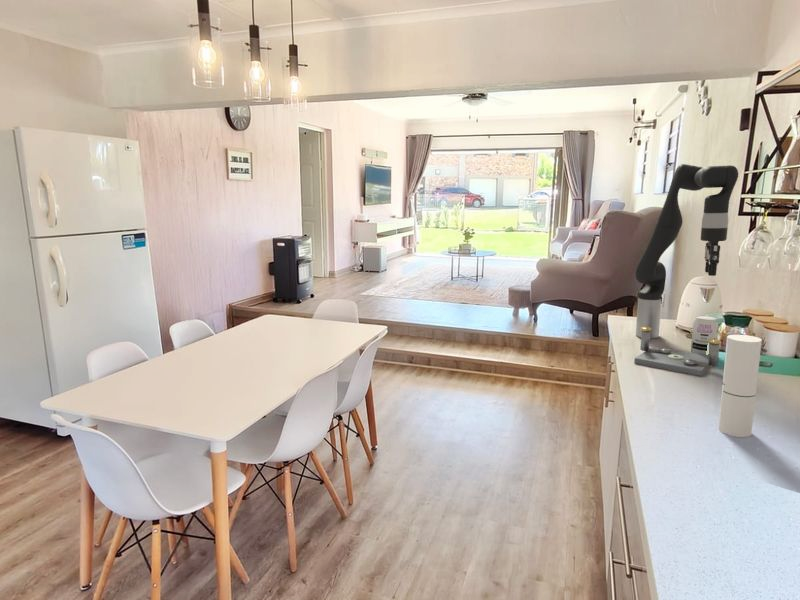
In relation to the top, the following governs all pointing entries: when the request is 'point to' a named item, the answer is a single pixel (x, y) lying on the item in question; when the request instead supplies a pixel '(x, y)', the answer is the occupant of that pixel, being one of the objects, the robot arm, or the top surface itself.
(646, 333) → the crank
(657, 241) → the robot arm
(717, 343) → the crank
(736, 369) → the cylindrical container
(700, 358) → the board
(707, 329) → the supplement can
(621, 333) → the top surface
